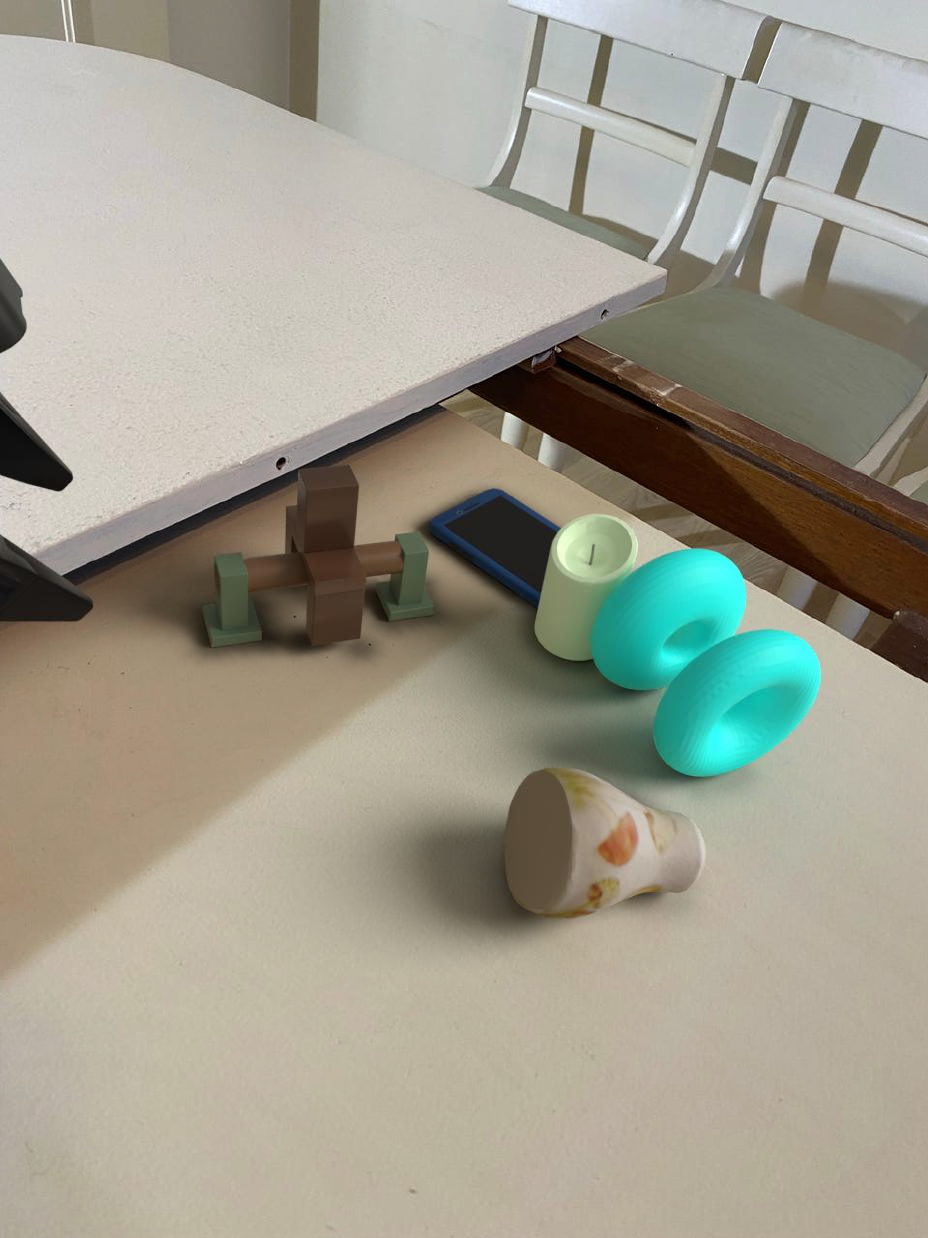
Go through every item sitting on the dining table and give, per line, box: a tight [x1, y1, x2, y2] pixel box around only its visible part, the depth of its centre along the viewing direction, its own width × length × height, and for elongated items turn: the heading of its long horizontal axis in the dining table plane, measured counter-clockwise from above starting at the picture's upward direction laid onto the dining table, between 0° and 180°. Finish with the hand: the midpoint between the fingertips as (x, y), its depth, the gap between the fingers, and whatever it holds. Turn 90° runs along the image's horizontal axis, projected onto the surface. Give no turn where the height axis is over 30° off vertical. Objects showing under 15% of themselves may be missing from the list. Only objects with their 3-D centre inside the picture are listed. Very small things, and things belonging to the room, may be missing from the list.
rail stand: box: [202, 531, 436, 648], centre depth 63 cm, size 14×3×5 cm, turn 110°
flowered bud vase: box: [503, 766, 707, 919], centre depth 51 cm, size 8×10×10 cm
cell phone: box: [428, 487, 562, 609], centre depth 71 cm, size 7×14×1 cm, turn 47°
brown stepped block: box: [284, 464, 368, 647], centre depth 60 cm, size 7×3×10 cm, turn 20°
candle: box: [533, 513, 639, 662], centre depth 63 cm, size 5×5×8 cm
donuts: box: [591, 548, 822, 778], centre depth 58 cm, size 10×10×10 cm
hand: (76, 543), depth 46 cm, fingers open, 9 cm apart
